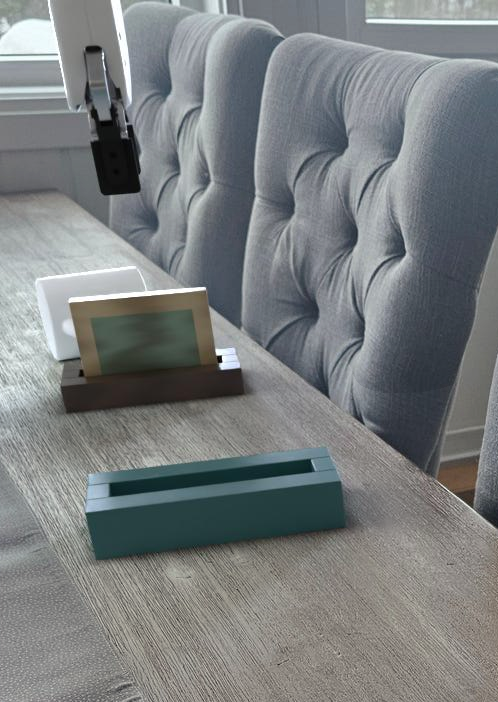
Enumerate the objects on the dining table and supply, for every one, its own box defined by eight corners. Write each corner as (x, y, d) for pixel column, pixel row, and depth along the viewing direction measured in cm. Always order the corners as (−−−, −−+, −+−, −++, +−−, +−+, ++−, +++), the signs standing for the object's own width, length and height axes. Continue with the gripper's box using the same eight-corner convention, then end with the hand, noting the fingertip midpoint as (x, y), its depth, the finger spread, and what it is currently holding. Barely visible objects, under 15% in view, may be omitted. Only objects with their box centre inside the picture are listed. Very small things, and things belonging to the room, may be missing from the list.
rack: (66, 413, 101) (59, 386, 100) (69, 390, 107) (63, 364, 105) (245, 394, 104) (241, 367, 103) (239, 372, 110) (235, 347, 109)
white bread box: (48, 350, 119) (30, 271, 114) (143, 335, 122) (128, 259, 118) (68, 380, 109) (49, 296, 105) (170, 363, 113) (155, 282, 109)
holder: (95, 560, 75) (84, 512, 74) (98, 519, 81) (87, 473, 79) (346, 527, 79) (341, 480, 77) (331, 489, 85) (326, 445, 83)
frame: (90, 401, 104) (68, 302, 99) (90, 397, 105) (69, 298, 100) (221, 387, 106) (206, 290, 101) (220, 383, 107) (205, 286, 103)
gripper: (33, -52, 92) (81, 173, 102) (13, -57, 78) (71, 205, 87) (127, -56, 94) (165, 166, 103) (124, -61, 80) (169, 197, 89)
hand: (122, 184), depth 95 cm, fingers open, 9 cm apart
